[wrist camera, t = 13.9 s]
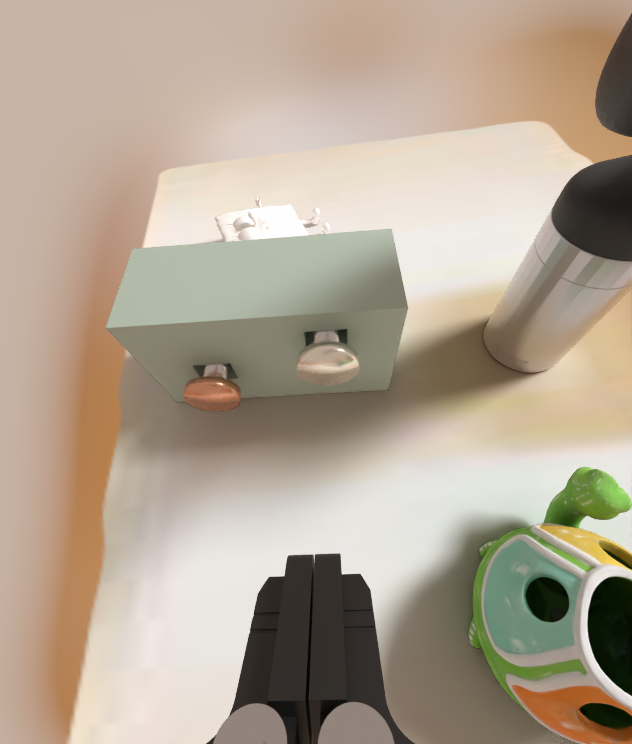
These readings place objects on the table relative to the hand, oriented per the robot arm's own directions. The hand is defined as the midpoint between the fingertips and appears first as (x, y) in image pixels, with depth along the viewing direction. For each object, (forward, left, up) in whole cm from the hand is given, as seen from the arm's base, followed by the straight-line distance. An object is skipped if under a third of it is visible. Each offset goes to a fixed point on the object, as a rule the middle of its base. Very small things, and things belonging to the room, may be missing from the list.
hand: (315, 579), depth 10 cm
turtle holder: (-11, +14, -27) cm, 32 cm away
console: (-13, -21, -26) cm, 36 cm away
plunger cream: (-16, -16, -18) cm, 29 cm away
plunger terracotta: (-8, -24, -23) cm, 34 cm away
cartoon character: (-28, -38, -27) cm, 54 cm away
